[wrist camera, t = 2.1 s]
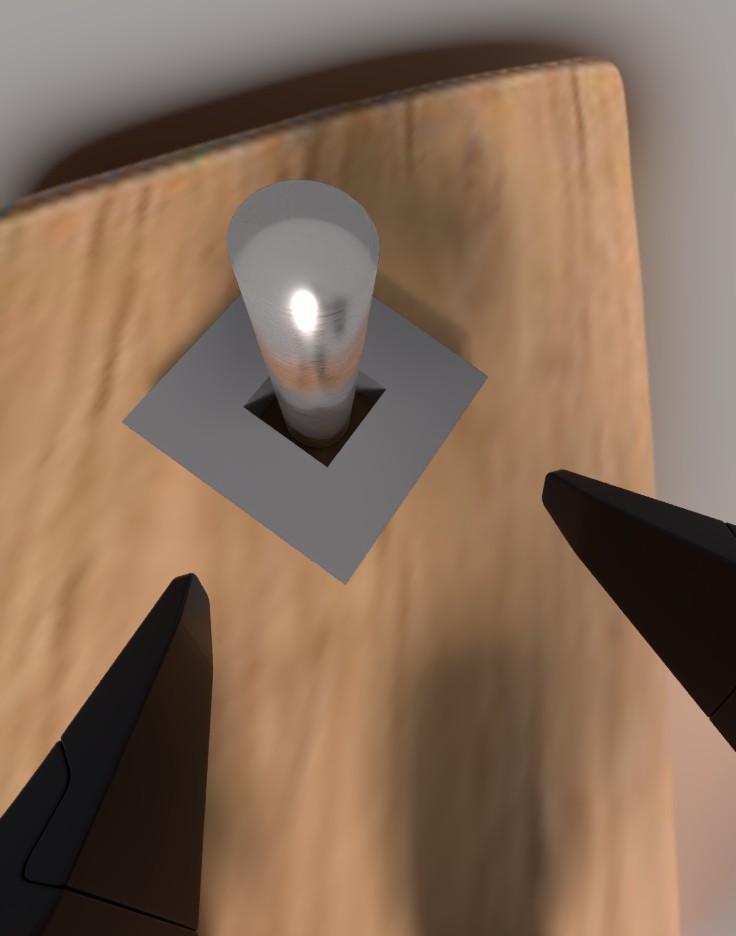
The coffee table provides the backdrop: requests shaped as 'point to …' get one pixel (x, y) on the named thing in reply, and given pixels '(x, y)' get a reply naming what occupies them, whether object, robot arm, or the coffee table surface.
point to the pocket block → (285, 464)
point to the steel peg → (307, 297)
